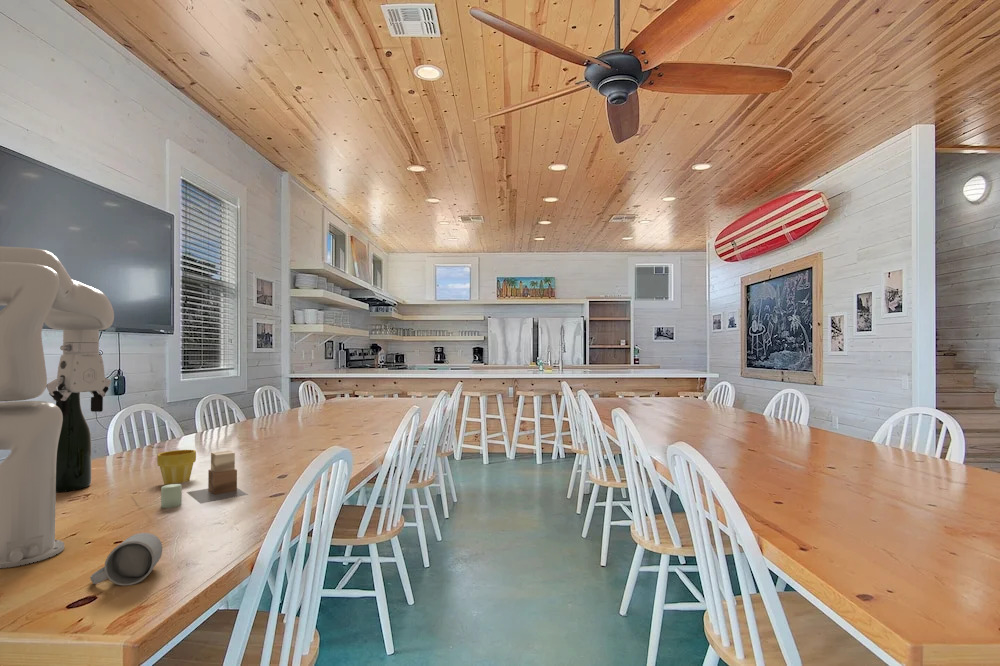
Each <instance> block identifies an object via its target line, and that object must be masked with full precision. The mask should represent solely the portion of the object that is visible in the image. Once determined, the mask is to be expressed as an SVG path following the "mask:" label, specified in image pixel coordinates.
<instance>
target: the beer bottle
mask: <svg viewBox="0 0 1000 666" xmlns="http://www.w3.org/2000/svg"><path fill="white" fill-rule="evenodd" d="M66 400H67V401H69V415H68V416H63V422H62V428H61V432H60V437H59V442H58V448H57V458H56V493H62V491H64V492H71V490H72V491H76V490H82V489H84V488H87V487H89V486H90V485H91V484H92V435H91V431H90V427H89V424H88V422H87V420H86V419H85V416H84V414H83V410H82V406H81V392H78V393H74V392H72V393H71V394H70V396H69V397H68V398H67V399H66Z"/></svg>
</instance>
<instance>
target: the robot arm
mask: <svg viewBox="0 0 1000 666" xmlns="http://www.w3.org/2000/svg"><path fill="white" fill-rule="evenodd" d="M0 306H4V308H2V309H1V310H0V450H5V451H8V450H9V451H10V454H8V456H7V457H5V458H4V460H3V461H1V462H0V569H7V567H8V568H14V567H19V566H20V565H21V566H26V565H29V563H30V564H34V563H38V562H40V561H44V560H46V559H47V560H48V559H49V557H50V558H51V557H54V556H56V554H57V555H58V554H60V553H61V552H63V550H64V549H65V542H64V541H63V540H59V539H56V505H57V504H56V497H57V496H56V495H57V492H56V458H57V448H58V442H59V437H60V432H61V428H62V422H63V416H68V415H69V401H67V400H66V399H67V398H68V397H69V396H70V394H71V393H72V392H74V393H78V392H80V393H87V392H89V393H91V395H92V396H91V398H90V411H91V412H93V413H94V412H96V413H98V412H99V413H101V412H103V410H104V406H103V405H104V398H105V397H106V394H107V392H108V391H109V389H110V388H109V387H110V386H111V384H112V380H111V379H109V378H107V377H105V374H106V373H105V367H104V366H105V365H104V360H103V356H102V354H99V353H100V343H99V342H100V341H99V340H100V331H104V330H106V329H109V328H110V327H112V325H113V323H114V321H115V320H114V319H115V311H114V308H113V306H112V303H111V301H110V300H109V299H108V297H107V296H106V294H105V293H104V292H102V291H101V290H99V289H97V288H94V287H93V286H91V285H87V284H85V283H82V282H80V281H77V280H74V279H73V278H72V277H71V276H70V275H69V273H68V271H67V269H66V268H65V266H64V265H63V263H62V262H61V261H60V260H59V258H58V257H57V256H56V255H54V253H52V252H51V251H48V250H46V249H40V248H34V247H33V248H32V247H19V246H18V247H16V246H2V245H0ZM44 325H46V326H47V327H48V328H50V329H52V330H57V331H63V332H62V333H63V335H62V336H63V337H62V338H63V339H62V345H60V346H59V349H60V351H62V355H60V358H59V362H58V367H57V376H56V379H54V380H52V381H51V382H49V383H48V376H47V369H46V362H45V354H44V353H45V352H44V347H43V340H42V339H43V337H42V333H43V332H42V331H43V327H44ZM46 389H47V391H48V392H49V393H48V394H49V396H50V397H51V398H52V400H53V401H54V402H55V404H54V403H52V402H49V401H44V400H32V399H35V398H38V397H40V396H41V395H42V394H43V393H45V390H46ZM37 561H38V562H37ZM33 562H34V563H33ZM25 564H26V565H25Z"/></svg>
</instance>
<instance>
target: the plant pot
mask: <svg viewBox="0 0 1000 666" xmlns="http://www.w3.org/2000/svg"><path fill="white" fill-rule="evenodd" d="M196 459H197V450H195V449H177V450H169V451H164V452H163V451H162V452H159V453H158V454H157V456H156V464H157V466H158V467H159V469H160V472H161V476H162V477H161V478H162V480H163V484H164V485H163V486H165V485H170V484H180V483H185V482H189V481H190V480H191V475H192V472H193V471H192V470H193V466H194V464H195V462H196Z"/></svg>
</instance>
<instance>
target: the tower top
mask: <svg viewBox="0 0 1000 666" xmlns="http://www.w3.org/2000/svg"><path fill="white" fill-rule="evenodd" d="M235 458H236V452H234V451H232V450H230V449H229V450H221V451H213V452H210V469H211V470H212V471H214V472H215V473H217V472H224V471H230V470H235V469H236V468H235V467H236V466H235V463H236V462H235V461H236V460H235Z"/></svg>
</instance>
